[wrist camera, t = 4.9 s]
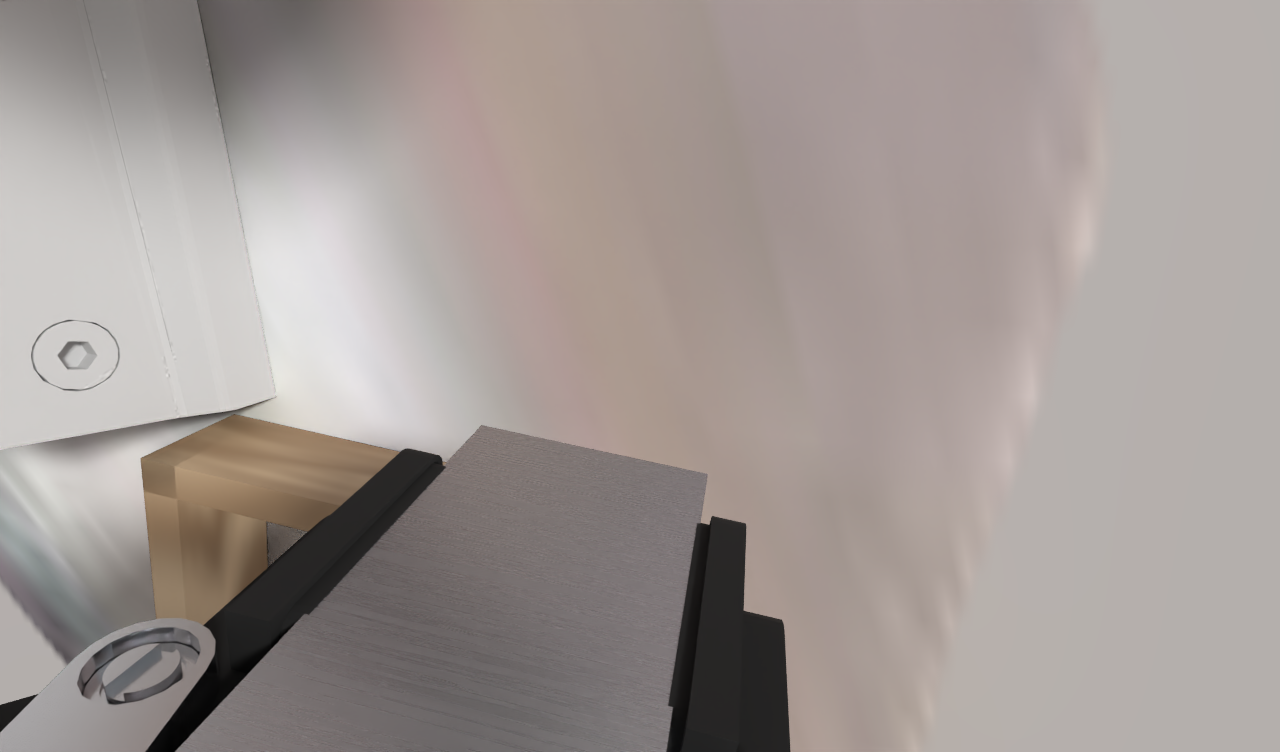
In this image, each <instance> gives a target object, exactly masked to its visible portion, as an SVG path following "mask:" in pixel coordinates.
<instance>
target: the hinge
mask: <svg viewBox="0 0 1280 752" xmlns="http://www.w3.org/2000/svg"><path fill="white" fill-rule="evenodd" d="M274 397H276V392H275V387H274V382H273V377H272V372H271V367H270V362H269V357H268V352H267V347H266V342H265V337H264V332H263V327H262V322H261V317H260V312H259V307H258V302H257V297H256V292H255V287H254V282H253V277H252V272H251V267H250V262H249V257H248V252H247V247H246V242H245V237H244V232H243V227H242V222H241V217H240V212H239V207H238V202H237V197H236V193H235V188H234V183H233V178H232V173H231V168H230V163H229V158H228V153H227V148H226V143H225V138H224V133H223V128H222V123H221V118H220V113H219V108H218V103H217V98H216V93H215V88H214V83H213V78H212V73H211V68H210V63H209V58H208V53H207V48H206V43H205V38H204V33H203V28H202V23H201V18H200V13H199V8H198V3H197V0H0V450H3V449H8V448H14V447H19V446H25V445H31V444H36V443H42V442H47V441H53V440H58V439H64V438H70V437H75V436H81V435H86V434H92V433H98V432H103V431H109V430H114V429H120V428H125V427H131V426H137V425H142V424H148V423H153V422H159V421H165V420H170V419H176V418H182V417H188V416H195V415H203V414H210V413H218V412H225V411H231V410H237V409H240V408H243V407H246V406H249V405H252V404H255V403H259V402H262V401H265V400H268V399H271V398H274Z"/></svg>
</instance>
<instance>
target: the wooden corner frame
mask: <svg viewBox="0 0 1280 752" xmlns="http://www.w3.org/2000/svg"><path fill="white" fill-rule="evenodd" d="M399 453H400V452H398V451H394V450H389V449H385V448H381V447H376V446H372V445H367V444H363V443H359V442H354V441H350V440H345V439H341V438H337V437H332V436H328V435H323V434H319V433H315V432H310V431H306V430H301V429H297V428H293V427H288V426H284V425H279V424H275V423H270V422H266V421H262V420H257V419H253V418H248V417H244V416H240V415H235V414H234V415H231V416H229V417H227V418H225V419H223V420H221V421H219V422H217V423H214V424H212V425H210V426H208V427H206V428H204V429H202V430H200V431H197V432H195V433H193V434H191V435H189V436H187V437H185V438H183V439H180V440H178V441H176V442H174V443H172V444H170V445H168V446H166V447H163V448H161V449H159V450H157V451H155V452H153V453H151V454H149V455H146V456H144V457H142V458H141V468H142V478H143V489H144V499H145V509H146V520H147V530H148V540H149V551H150V561H151V571H152V581H153V592H154V602H155V612H156V619H160V618H182V619H187V620H191V621H195V622H198V623H200V624H202V625H204V624H205V623H206V622H207V621H208V620H210V619H211V618H212V617H213V616H214V615H215V614H216V613H217V612H219V611H220V610H221V609H222V608H223V607H224V606H225V605H226V604H228V603H229V602H230V601H231V600H232V599H233V598H234V597H235V596H236V595H238V594H239V593H240V592H241V591H242V590H243V589H244V588H245V587H247V586H248V585H249V584H250V583H251V582H252V581H253V580H254V579H256V578H257V577H258V576H259V575H260V574H261V573H262V572H263V571H265V570H266V569H267V568H268V562H267V529H266V521H267V522H271V523H275V524H279V525H283V526H287V527H291V528H295V529H300V530H304V531H309V530H311V529H312V528H313V527H314V526H315V525H316V524H317V523H318V522H319V521H321V520H322V519H324V518H325V517H327V516H329V515H331V514H332V513H333V512H334V511H335V510H336V509H338V508H339V507H340V506H341V505H342V504H343V503H344V502H345V501H346V500H348V499H349V498H350V497H351V496H352V495H353V494H354V493H355V492H356V491H358V490H359V489H360V488H361V487H362V486H363V485H364V484H365V483H366V482H368V481H369V480H370V479H371V478H372V477H373V476H374V475H375V474H376V473H378V472H379V471H380V470H381V469H382V468H383V467H384V466H385V465H386V464H388V463H389V462H390V461H391V460H392V459H393V458H394V457H395V456H396V455H398V454H399ZM446 463H447V462H443V465H445V464H446Z"/></svg>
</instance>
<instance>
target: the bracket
mask: <svg viewBox="0 0 1280 752" xmlns="http://www.w3.org/2000/svg"><path fill="white" fill-rule="evenodd" d="M444 466H445V467H446V468H445V469H444V470H443V471H442V472H441V473H440V474H439V475H438V476H437V477H436V478H435V479H434V481H433V482H432V483H431V484H430V485H429V486H428V487H427V488H426V489H425V490H424V491H423V492H422V493H421V495H420V496H419V497H418V498H417V499H416V500H415V501H414V502H413V503H412V504H411V505H410V506H409V507H408V509H407V510H406V511H405V512H404V513H403V514H402V515H401V516H400V517H399V518H398V519H397V520H396V521H395V523H394V524H393V525H392V526H391V527H390V528H389V529H388V530H387V531H386V532H385V533H384V534H383V535H382V537H381V538H380V539H379V540H378V541H377V542H376V543H375V544H374V545H373V546H372V547H371V548H370V550H369V551H368V552H367V553H366V554H365V555H364V556H363V557H362V558H361V559H360V560H359V561H358V562H357V564H356V565H355V566H354V567H353V568H352V569H351V570H350V571H349V572H348V573H347V574H346V575H345V576H344V578H343V579H342V580H341V581H340V582H339V583H338V584H337V585H336V586H335V587H334V588H333V589H332V590H331V592H330V593H329V594H328V595H327V596H326V597H325V598H324V599H323V600H322V601H321V602H320V603H319V604H318V606H317V607H316V608H315V609H314V610H313V611H312V612H311V613H310V614H309V615H308V614H304V615H303V616H302V617H301V618H300V619H299V620H298V621H297V622H296V623H295V624H294V626H293V627H292V628H291V629H290V630H289V631H288V632H287V633H286V634H285V635H284V636H283V637H282V638H281V639H280V640H279V642H278V643H277V644H276V645H275V646H274V647H273V648H272V649H271V650H270V651H269V652H268V653H267V654H266V655H265V656H264V658H263V659H262V660H261V661H260V662H259V663H258V664H257V665H256V666H255V667H254V668H253V669H252V670H251V671H250V672H249V673H248V675H247V676H246V677H245V678H244V679H243V680H242V681H241V682H240V683H239V684H238V685H237V686H236V687H235V688H234V689H233V691H232V692H231V693H230V694H229V695H228V696H227V697H226V698H225V699H224V700H223V701H222V702H221V703H220V704H219V705H218V707H217V708H216V709H215V710H214V711H213V712H212V713H211V714H210V715H209V716H208V717H207V718H206V719H205V720H204V721H203V722H202V724H201V725H200V726H199V727H198V728H197V729H196V730H195V731H194V732H193V733H192V734H191V735H190V736H189V737H188V738H187V740H186V741H185V742H184V743H183V744H182V745H181V746H180V747H179V748H178V749H177V750H176V751H175V752H666V750H667V743H668V737H669V730H670V723H671V717H672V710H673V707H670V706H668V703H669V697H670V691H671V684H672V678H673V672H674V665H675V659H676V653H677V647H678V640H679V634H680V628H681V621H682V615H683V609H684V603H685V596H686V590H687V584H688V577H689V571H690V565H691V559H692V552H693V546H694V540H695V533H696V527H697V523H700V522H701V515H702V509H703V502H704V495H705V489H706V482H707V475H708V474H705V473H700V472H695V471H691V470H686V469H682V468H677V467H672V466H668V465H663V464H658V463H654V462H649V461H645V460H640V459H635V458H631V457H626V456H621V455H617V454H612V453H608V452H603V451H598V450H594V449H589V448H584V447H580V446H575V445H570V444H566V443H561V442H557V441H552V440H547V439H543V438H538V437H533V436H529V435H524V434H520V433H515V432H510V431H506V430H501V429H496V428H492V427H487V426H483V425H481V426H480V427H479V429H478V430H477V431H476V432H475V433H474V434H473V435H472V436H471V437H470V438H469V439H468V440H467V441H466V442H465V443H464V445H463V446H462V447H461V448H460V449H459V450H458V451H457V452H456V453H455V454H454V455H453V456H452V457H451V458H450V459H449V460H448V462H447V463H446V464H445V465H444Z"/></svg>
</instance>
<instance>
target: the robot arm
mask: <svg viewBox="0 0 1280 752" xmlns="http://www.w3.org/2000/svg"><path fill="white" fill-rule="evenodd" d="M445 468H446V467H445V466H444V465H443V462H442V458H441V457H440V456H439V455H435V454H431V453H426V452H422V451H417V450H413V449H404V450H402V451H401V452H400V453H399V454H398V455H396V456H395V457H394V458H393V459H392V460H391V461H390V462H389V463H388V464H386V465H385V466H384V467H383V468H382V469H381V470H380V471H379V472H378V473H376V474H375V475H374V476H373V477H372V478H371V479H370V480H369V481H368V482H366V483H365V484H364V485H363V486H362V487H361V488H360V489H359V490H358V491H356V492H355V493H354V494H353V495H352V496H351V497H350V498H349V499H348V500H346V501H345V502H344V503H343V504H342V505H341V506H340V507H339V508H338V509H336V510H335V511H334V512H333V513H332V514H331V515H329V516H327V517H325V518H324V519H322V520H321V521H319V522H318V523H317V524H316V525H315V526H314V527H313V528H312V529H311V530H309V531H308V532H307V533H306V534H305V535H304V536H303V537H302V538H300V539H299V540H298V541H297V542H296V543H295V544H294V545H293V546H291V547H290V548H289V549H288V550H287V551H286V552H285V553H284V554H282V555H281V556H280V557H279V558H278V559H277V560H276V561H275V562H274V563H272V564H271V565H270V566H269V567H268V568H267V569H266V570H265V571H263V572H262V573H261V574H260V575H259V576H258V577H257V578H256V579H254V580H253V581H252V582H251V583H250V584H249V585H248V586H247V587H245V588H244V589H243V590H242V591H241V592H240V593H239V594H238V595H236V596H235V597H234V598H233V599H232V600H231V601H230V602H229V603H228V604H226V605H225V606H224V607H223V608H222V609H221V610H220V611H219V612H217V613H216V614H215V615H214V616H213V617H212V618H211V619H210V620H208V621H207V622H206V623H205V624H204V625H202V624H200V623H198V622H195V621H191V620H187V619H182V618H160V619H155V620H149V621H144V622H139V623H136V624H133V625H130V626H127V627H125V628H122V629H119V630H116V631H114V632H112V633H110V634H108V635H107V636H105V637H103V638H101V639H99V640H97V641H96V642H94V643H92V644H91V645H90V646H89V647H87V648H86V649H85V650H84V651H82V652H81V653H80V654H79V655H78V656H76V657H75V658H74V659H73V660H72V661H71V662H70V663H69V664H68V665H67V666H66V667H65V668H64V669H63V670H62V671H61V672H60V673H59V674H58V675H57V676H56V677H55V678H54V679H53V680H52V681H51V682H50V683H49V684H48V685H47V686H46V687H45V688H44V689H43V690H42V691H41V692H40V693H39V694H37V695H33V696H30V697H26V698H23V699H19V700H16V701H13V702H9V703H6V704H2V705H0V752H175V751H176V750H177V749H178V748H179V747H180V746H181V745H182V744H183V743H184V742H185V741H186V740H187V738H188V737H189V736H190V735H191V734H192V733H193V732H194V731H195V730H196V729H197V728H198V727H199V726H200V725H201V724H202V722H203V721H204V720H205V719H206V718H207V717H208V716H209V715H210V714H211V713H212V712H213V711H214V710H215V709H216V708H217V707H218V705H219V704H220V703H221V702H222V701H223V700H224V699H225V698H226V697H227V696H228V695H229V694H230V693H231V692H232V691H233V689H234V688H235V687H236V686H237V685H238V684H239V683H240V682H241V681H242V680H243V679H244V678H245V677H246V676H247V675H248V673H249V672H250V671H251V670H252V669H253V668H254V667H255V666H256V665H257V664H258V663H259V662H260V661H261V660H262V659H263V658H264V656H265V655H266V654H267V653H268V652H269V651H270V650H271V649H272V648H273V647H274V646H275V645H276V644H277V643H278V642H279V640H280V639H281V638H282V637H283V636H284V635H285V634H286V633H287V632H288V631H289V630H290V629H291V628H292V627H293V626H294V624H295V623H296V622H297V621H298V620H299V619H300V618H301V617H302V616H303V615H304V614H308V615H309V614H310V613H311V612H312V611H313V610H314V609H315V608H316V607H317V606H318V604H319V603H320V602H321V601H322V600H323V599H324V598H325V597H326V596H327V595H328V594H329V593H330V592H331V590H332V589H333V588H334V587H335V586H336V585H337V584H338V583H339V582H340V581H341V580H342V579H343V578H344V576H345V575H346V574H347V573H348V572H349V571H350V570H351V569H352V568H353V567H354V566H355V565H356V564H357V562H358V561H359V560H360V559H361V558H362V557H363V556H364V555H365V554H366V553H367V552H368V551H369V550H370V548H371V547H372V546H373V545H374V544H375V543H376V542H377V541H378V540H379V539H380V538H381V537H382V535H383V534H384V533H385V532H386V531H387V530H388V529H389V528H390V527H391V526H392V525H393V524H394V523H395V521H396V520H397V519H398V518H399V517H400V516H401V515H402V514H403V513H404V512H405V511H406V510H407V509H408V507H409V506H410V505H411V504H412V503H413V502H414V501H415V500H416V499H417V498H418V497H419V496H420V495H421V493H422V492H423V491H424V490H425V489H426V488H427V487H428V486H429V485H430V484H431V483H432V482H433V481H434V479H435V478H436V477H437V476H438V475H439V474H440V473H441V472H442V471H443V470H444V469H445ZM745 550H746V524H745V523H741V522H736V521H732V520H727V519H723V518H718V517H714V516H712V518H711V521H710V525H708V524H703V523H697V527H696V533H695V540H694V546H693V552H692V559H691V565H690V571H689V577H688V584H687V590H686V596H685V603H684V609H683V615H682V621H681V628H680V634H679V640H678V647H677V653H676V659H675V665H674V672H673V678H672V684H671V691H670V697H669V703H668V706H670V707H673V710H672V717H671V723H670V730H669V737H668V743H667V750H666V752H790V735H789V715H788V695H787V674H786V654H785V634H784V624H783V622H782V620H780V619H776V618H772V617H767V616H763V615H759V614H755V613H750V612H746V611H743V609H744V579H745Z"/></svg>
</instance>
